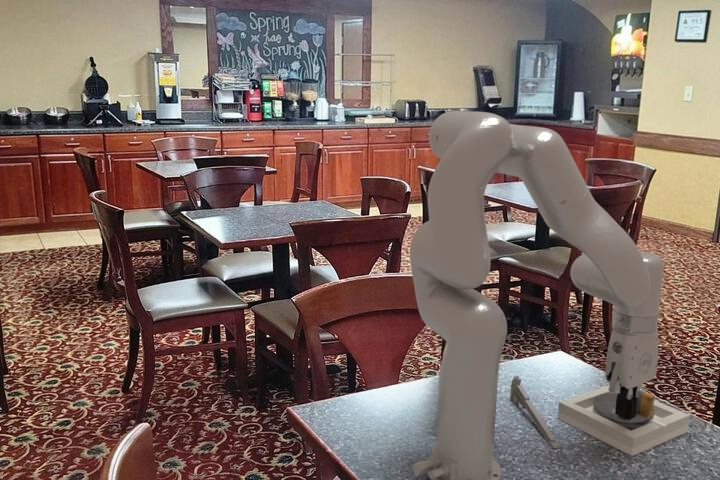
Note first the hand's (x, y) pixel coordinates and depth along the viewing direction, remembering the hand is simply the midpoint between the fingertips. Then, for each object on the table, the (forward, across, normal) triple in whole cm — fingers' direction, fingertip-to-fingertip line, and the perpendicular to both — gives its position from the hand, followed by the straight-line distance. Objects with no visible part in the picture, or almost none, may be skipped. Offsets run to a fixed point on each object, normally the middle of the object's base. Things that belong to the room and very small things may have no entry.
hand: (625, 415), depth 127 cm
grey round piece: (+4, +6, +4) cm, 8 cm away
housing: (+5, +6, +4) cm, 9 cm away
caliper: (+6, -8, +15) cm, 18 cm away
